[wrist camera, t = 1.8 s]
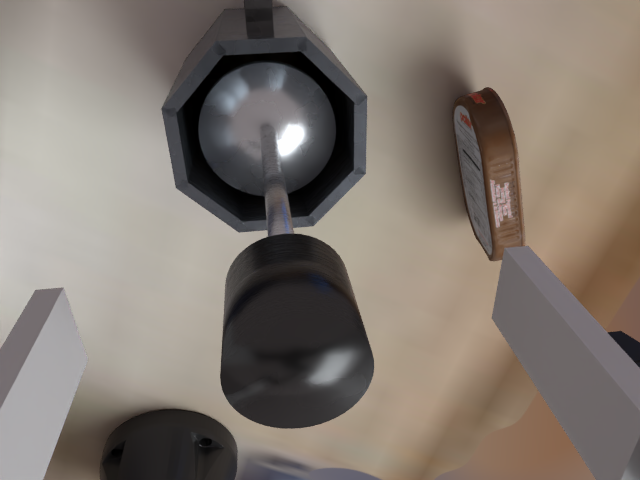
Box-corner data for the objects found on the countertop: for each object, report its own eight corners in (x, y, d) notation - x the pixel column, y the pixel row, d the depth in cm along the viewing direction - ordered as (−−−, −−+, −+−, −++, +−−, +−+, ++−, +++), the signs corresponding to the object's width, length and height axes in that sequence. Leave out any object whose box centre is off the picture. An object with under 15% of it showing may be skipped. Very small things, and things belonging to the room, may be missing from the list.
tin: (494, 225, 51) (536, 273, 43) (463, 235, 51) (499, 284, 43) (475, 74, 43) (522, 102, 36) (439, 86, 43) (478, 116, 36)
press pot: (332, 145, 44) (364, 221, 32) (201, 154, 43) (184, 237, 31) (329, -37, 37) (369, -26, 25) (173, -31, 36) (138, -17, 24)
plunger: (334, 185, 33) (434, 456, 16) (209, 195, 33) (168, 491, 15) (333, 56, 29) (464, 227, 12) (189, 64, 29) (103, 259, 11)
